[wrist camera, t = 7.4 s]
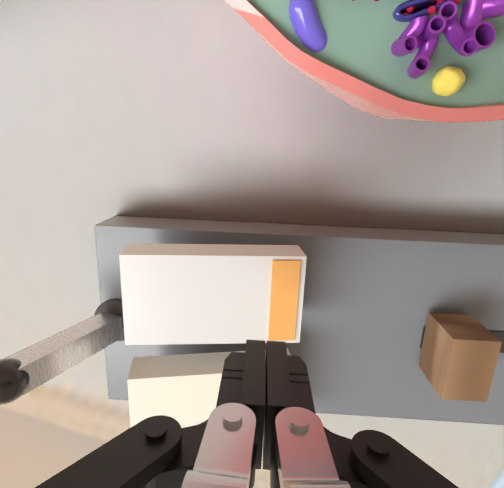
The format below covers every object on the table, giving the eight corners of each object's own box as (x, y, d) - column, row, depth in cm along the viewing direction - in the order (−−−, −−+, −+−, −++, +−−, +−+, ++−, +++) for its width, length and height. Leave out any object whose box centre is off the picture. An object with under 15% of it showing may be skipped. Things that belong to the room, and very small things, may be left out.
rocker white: (134, 325, 20) (124, 346, 18) (129, 243, 19) (118, 255, 17) (292, 324, 21) (300, 343, 19) (298, 245, 20) (307, 257, 18)
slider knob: (418, 365, 22) (440, 399, 19) (428, 312, 21) (453, 339, 18) (458, 367, 22) (486, 402, 19) (470, 314, 21) (502, 341, 18)
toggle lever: (103, 334, 23) (-28, 404, 16) (101, 305, 22) (-36, 366, 16) (126, 343, 22) (-3, 420, 16) (124, 313, 21) (-10, 381, 15)
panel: (120, 371, 27) (101, 400, 24) (109, 215, 24) (85, 226, 21) (494, 395, 26) (523, 428, 23) (535, 235, 23) (577, 249, 20)
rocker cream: (137, 427, 22) (132, 454, 20) (133, 357, 20) (127, 379, 18) (282, 414, 23) (291, 438, 21) (287, 348, 22) (297, 368, 20)
